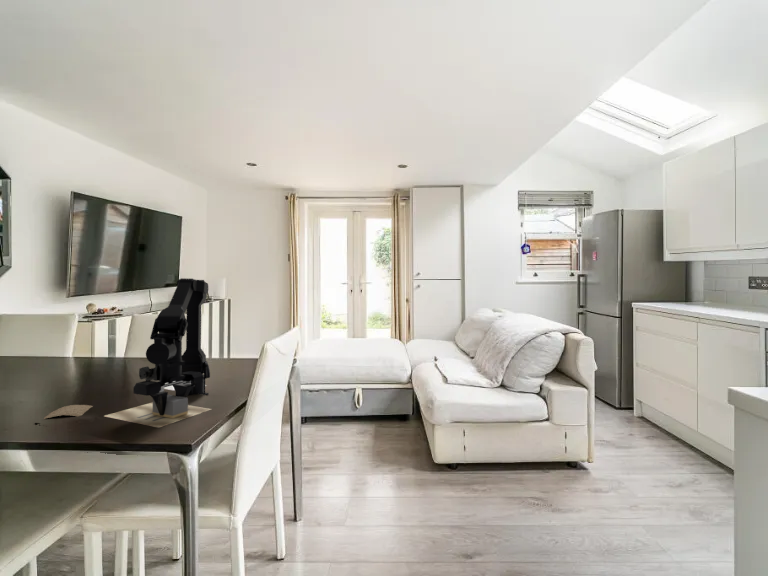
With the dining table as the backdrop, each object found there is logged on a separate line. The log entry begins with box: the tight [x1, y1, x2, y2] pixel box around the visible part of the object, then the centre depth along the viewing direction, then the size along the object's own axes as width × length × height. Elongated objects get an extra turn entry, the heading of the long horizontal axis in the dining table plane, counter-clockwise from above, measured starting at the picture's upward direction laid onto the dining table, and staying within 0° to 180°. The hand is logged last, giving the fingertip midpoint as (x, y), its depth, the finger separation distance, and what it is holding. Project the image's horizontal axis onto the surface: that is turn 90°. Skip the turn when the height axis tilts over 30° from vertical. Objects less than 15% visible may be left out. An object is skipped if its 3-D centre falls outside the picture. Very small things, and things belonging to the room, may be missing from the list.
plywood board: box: [104, 401, 213, 428], centre depth 123 cm, size 18×22×1 cm
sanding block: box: [152, 394, 189, 418], centre depth 122 cm, size 5×8×4 cm, turn 66°
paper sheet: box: [164, 381, 208, 391], centre depth 155 cm, size 24×29×1 cm
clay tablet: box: [43, 404, 94, 420], centre depth 122 cm, size 14×10×3 cm
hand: (170, 412), depth 122 cm, fingers closed on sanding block, 5 cm apart
